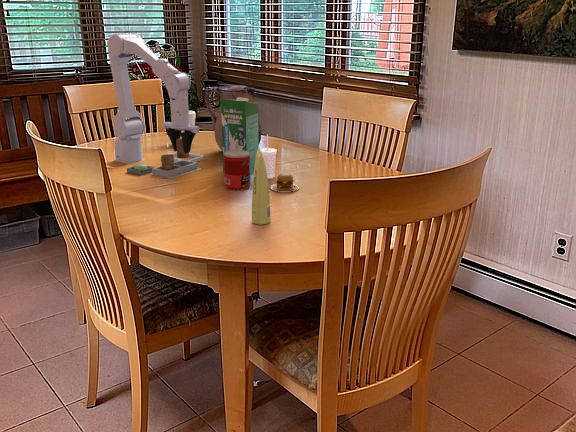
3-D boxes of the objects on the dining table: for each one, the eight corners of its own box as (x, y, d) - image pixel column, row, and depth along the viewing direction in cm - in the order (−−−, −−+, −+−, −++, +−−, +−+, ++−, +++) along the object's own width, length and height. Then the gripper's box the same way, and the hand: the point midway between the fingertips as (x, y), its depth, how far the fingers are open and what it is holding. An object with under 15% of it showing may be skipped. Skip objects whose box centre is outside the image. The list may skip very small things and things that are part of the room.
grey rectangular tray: (148, 176, 190) (148, 168, 189) (180, 167, 202) (179, 158, 200) (171, 181, 185) (170, 172, 184) (202, 171, 196) (201, 162, 195)
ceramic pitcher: (259, 159, 213) (259, 90, 204) (202, 158, 213) (199, 90, 204) (262, 148, 229) (262, 84, 220) (209, 147, 229) (207, 83, 221)
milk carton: (259, 169, 199) (258, 96, 190) (246, 176, 191) (245, 100, 183) (236, 166, 202) (234, 94, 194) (223, 173, 195) (220, 98, 186)
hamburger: (260, 194, 175) (260, 177, 173) (270, 183, 186) (270, 167, 184) (299, 197, 172) (299, 180, 170) (307, 186, 183) (307, 169, 181)
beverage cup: (260, 179, 188) (260, 137, 183) (256, 174, 193) (256, 133, 188) (278, 178, 189) (279, 136, 184) (274, 173, 195) (274, 132, 190)
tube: (245, 221, 151) (244, 148, 144) (259, 216, 154) (258, 145, 148) (261, 226, 147) (261, 152, 141) (275, 221, 151) (274, 148, 144)
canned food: (246, 191, 176) (246, 156, 172) (221, 189, 177) (220, 154, 173) (253, 184, 183) (252, 150, 179) (228, 182, 184) (227, 149, 180)
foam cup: (169, 145, 232) (167, 113, 228) (179, 141, 240) (177, 109, 236) (190, 147, 230) (188, 115, 225) (200, 142, 238) (199, 111, 233)
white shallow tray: (161, 162, 208) (161, 156, 207) (179, 156, 215) (179, 151, 215) (187, 167, 201) (187, 161, 201) (205, 161, 209) (205, 155, 208)
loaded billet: (159, 174, 189) (158, 156, 187) (168, 171, 193) (167, 153, 190) (168, 175, 187) (167, 157, 185) (177, 173, 190) (176, 155, 188)
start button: (131, 174, 191) (130, 165, 190) (141, 171, 195) (140, 162, 194) (141, 176, 189) (140, 167, 188) (150, 173, 193) (150, 164, 192)
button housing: (127, 175, 191) (126, 168, 190) (141, 171, 196) (141, 164, 195) (141, 178, 188) (140, 171, 187) (155, 174, 193) (154, 167, 192)
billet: (174, 157, 194) (173, 139, 192) (182, 154, 197) (181, 137, 195) (183, 158, 192) (182, 141, 190) (191, 156, 195) (190, 139, 193)
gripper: (154, 110, 189) (157, 151, 194) (188, 115, 182) (190, 157, 187) (170, 107, 195) (172, 147, 200) (202, 112, 187) (204, 152, 192)
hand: (182, 151), depth 193 cm, fingers closed on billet, 4 cm apart
